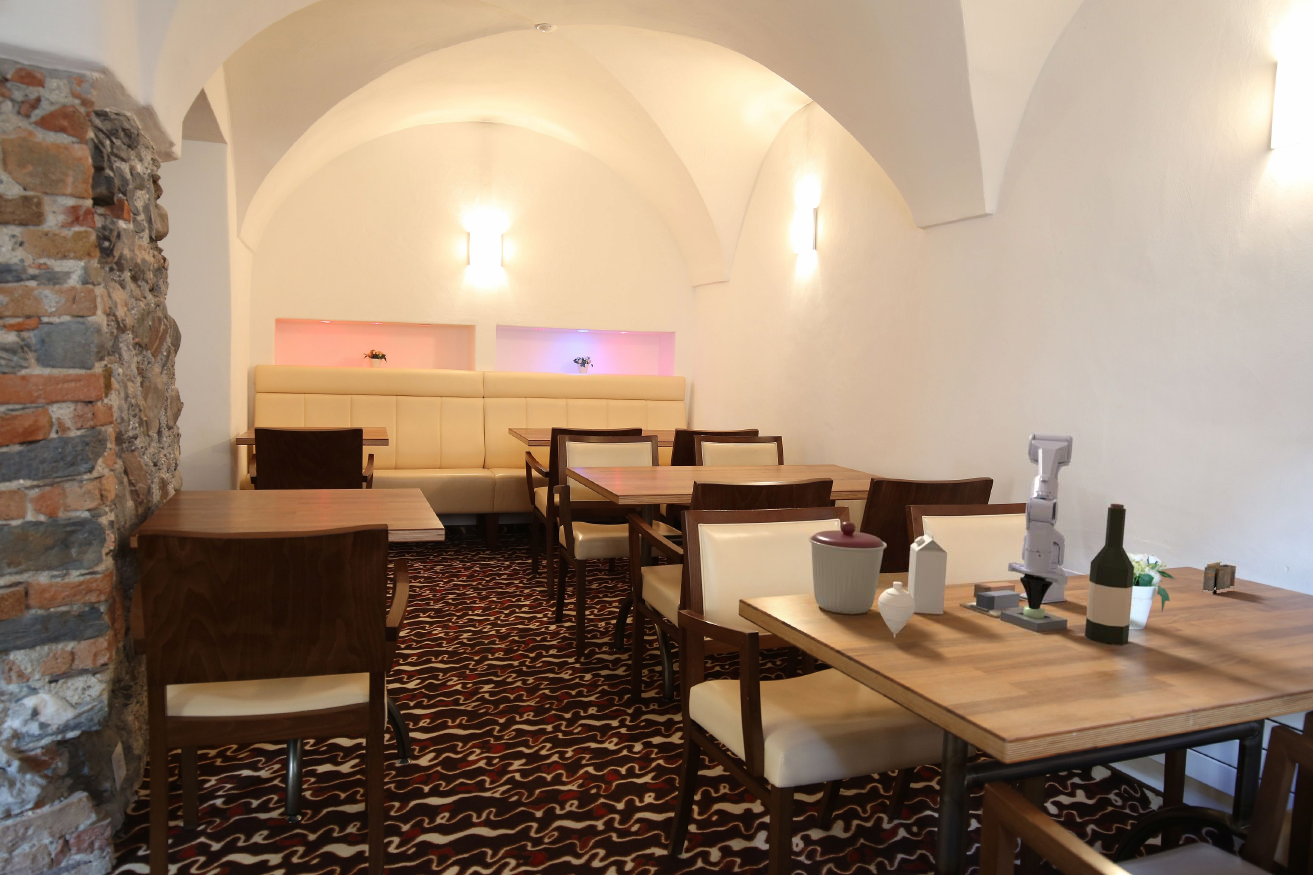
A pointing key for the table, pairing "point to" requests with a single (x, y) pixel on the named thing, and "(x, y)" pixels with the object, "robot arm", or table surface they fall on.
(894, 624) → the spinning top
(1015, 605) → the grey rectangular bar
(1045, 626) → the button housing
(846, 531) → the canister
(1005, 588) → the block
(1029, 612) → the button
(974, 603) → the tan flat tray
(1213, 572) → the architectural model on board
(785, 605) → the table surface
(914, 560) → the milk carton
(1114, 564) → the wine bottle
